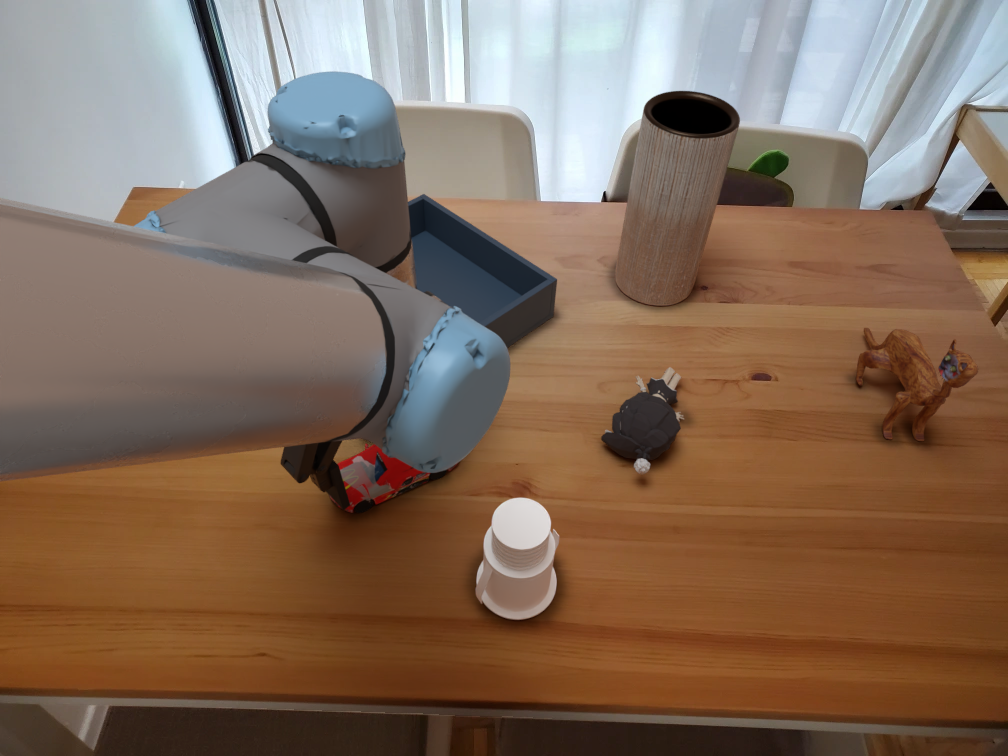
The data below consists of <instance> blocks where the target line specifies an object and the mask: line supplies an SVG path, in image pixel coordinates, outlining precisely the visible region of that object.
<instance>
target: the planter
mask: <svg viewBox="0 0 1008 756" xmlns="http://www.w3.org/2000/svg"><path fill="white" fill-rule="evenodd" d="M641 115H642V116H641V120H640V126H639V132H638V137H637V144H636V149H635V154H634V160H633V166H632V173H631V178H630V184H629V190H628V194H627V201H626V206H625V212H624V217H623V223H622V228H621V229H622V230H621V235H620V239H619V240H620V241H619V245H618V252H617V257H616V264H615V271H614V280H615V283H616V285H617V287H618V288H619V290H620V291H621V292H622V293H623V294H625V296H627V297H628V298H630V299H632V300H634V301H636V302H639V303H642V304H645V305H651V306H671V305H675V304H678V303H681V302H682V301H684V300H685V299H687V298H688V297H689V296H690V295H691V292H692V291H693V288H694V285H695V284H696V283H695V282H696V280H697V276H698V272H699V269H700V266H701V261H702V259H703V255H704V252H705V249H706V244H707V241H708V238H709V234H710V232H711V231H710V230H711V227H712V224H713V220H714V216H715V212H716V209H717V205H718V203H719V199H720V195H721V192H722V188H723V184H724V181H725V177H726V174H727V171H728V167H729V162H730V160H731V156H732V152H733V149H734V146H735V142H736V138H737V136H738V135H737V134H738V132H739V128H740V123H741V117H740V114H739V113H738V111H737V109H736V108H735V107H734V106H733V105H732V104H731V103H729V102H727V101H725V100H724V99H722V98H719V97H717V96H715V95H711V94H709V93H705V92H699V91H692V90H671V91H666V92H662V93H659V94H656V95H654V96H653V97H651V98H649V99H648V100H647V101H646V103H645V104H644V106H643V110H642V114H641Z"/></svg>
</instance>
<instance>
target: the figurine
mask: <svg viewBox="0 0 1008 756" xmlns="http://www.w3.org/2000/svg"><path fill="white" fill-rule="evenodd" d="M634 378H635V380H636V381H635V382H634V383H635V384H636V385H637V386H638V387H639V388H640V389H639V390H640V392H637V393H636V394H635V395H633V396H632V397H630V398H627V399H625V400H624V402H623V403H622V404H621V405H620V406H619V411H617V412H615V413H613V415H612V419H611V422H612V423H611V430H612V431H611V430H608V429H605V430H604V434H602V436H601V437H600V439H601V441H602V442H603V443H604V444H605V445H606V446H607V447H609V448H610V449H611V450H612V451H614V453H616V454H618V455H619V456H620V457H623V458H625V459H631V460H636V461H634V463H633V468H634V469H635V472H636V473H637V474H640V475H645V474H647V473H648V472H649V471H650V470H651V469H650V468H651V463H650V462H649V461H653V460H656V459H658V458H659V457H660V456H661V454H663V453H665V452H667V451H668V450H669V449H670V448H671V445H672V443H674V442H675V440H676V438H677V434H678V433H679V432H680V431H681V429H682V428H681V424H680V421H681V420H683V421H684V420H685V418H684V415H685V414H681V413H682V412H681V411H678V412H676V411H675V410H674V408H673V407H672V405H674V404H677V403H679V400H678V398H677V396H678V391H677V389H676V388H677V386H678V385H679V382H680V381H681V379H682V376H681V375H680V374H679V373H678V372H676V371H675V369H673V368H672V367H671V366H669V367H668V368H666V369H665V371H664V372H663V375H662V376H661V377H660V378H657V379H656V378H653V377H650V379H649V382H647V383H646V387H647V388H646V387H645V384H644V381H643V378H642V377H640V376H639V375H637V376H636V375H635V377H634ZM647 390H648V391H647ZM680 419H681V420H680Z"/></svg>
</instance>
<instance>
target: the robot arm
mask: <svg viewBox="0 0 1008 756" xmlns="http://www.w3.org/2000/svg"><path fill="white" fill-rule="evenodd" d="M267 120H268V124H269V126H268V128H267V132H268V134H269V137H270V141H272V143H271V144H269V145H268V146H267V147H265V148H264V149H262V150H260V151H258V152H256V153H254V154H253V155H251V157H250V158H249V159H248V160H246V161H244V162H242V163H240V164H239V165H237V166H235V167H233V168H231V169H230V170H228V171H226V172H224V173H222V174H220V175H219V176H217V177H215V178H213V179H211V180H210V181H207V182H206V183H204V184H202V185H200V186H199V187H196V188H195V189H193V190H191V191H189V192H187V193H186V194H184V195H182V196H180V197H178V198H177V199H175V200H172V201H171V202H169V203H167V204H166V205H163V206H162V207H160V208H158V209H156V210H155V209H154V210H151V211H149V212H148V213H147V214H146V217H145V218H144V219H142V220H141V221H139V222H137V223H136V224H134V225H129V224H125V223H119V222H116V221H115V222H114V221H109V220H106V219H102V218H96V217H92V216H87V215H82V214H77V213H72V212H68V211H63V210H59V209H53V208H50V207H45V206H39V205H35V204H30V203H25V202H21V201H16V200H13V199H7V198H4V197H0V482H8V481H17V480H24V479H33V478H40V477H49V476H50V477H51V476H57V475H66V474H74V473H75V474H76V473H81V472H91V471H97V470H98V471H99V470H106V469H114V468H123V467H131V466H140V465H147V464H154V463H156V464H157V463H163V462H164V463H165V462H172V461H173V462H174V461H180V460H181V461H182V460H187V459H197V458H207V457H213V456H220V455H229V454H238V453H246V452H253V451H261V450H270V449H278V448H282V449H283V450H282V454H281V458H280V462H279V463H280V465H281V467H282V468H283V469H284V470H285V471H286V472H287V473H288V474H289V475H290V476H291V478H293V479H294V481H295V482H296V483H298V484H303V483H305V482H307V480H308V479H309V478H310V480H311V482H312V483H313V484H314V485H315V486H316V487H317V488H318V490H320V492H322V493H326V494H327V495H328V497H329V496H330V497H331V498H332V499H333V500H334V501H335V502H336V503H337V504H338V505H339V506H340V507H341V508H342V509H341V508H340V509H341V510H343V511H345V509H346V508H347V507H349V506H350V502H349V499H348V496H347V492H346V489H345V485H344V482H343V479H342V475H341V472H340V469H339V465H338V463H337V462H336V461H335V460H334V459H335V456H336V454H337V453H338V451H339V449H340V447H341V445H342V443H343V441H349V440H358V439H359V440H365V441H368V442H369V443H372V444H373V445H374V444H375V445H376V446H378V447H379V448H380V449H382V452H383V453H384V454H386V455H387V456H388V457H390V458H397V459H399V460H400V461H402V462H404V463H406V464H408V465H410V466H411V467H413V468H415V469H417V470H419V471H422V472H426V473H437V472H440V471H444V470H446V469H447V470H448V468H450V467H452V466H454V465H455V464H457V463H459V462H461V461H462V460H464V459H465V458H466V457H467V456H468V455H470V453H471V452H472V451H473V450H474V449H475V448H476V447H477V445H478V444H479V443H480V442H481V440H482V439H483V438H484V437H485V435H486V434H487V433H488V431H489V430H490V428H491V426H492V424H493V423H494V421H495V418H496V417H497V415H498V414H499V411H500V409H501V406H502V404H503V402H504V398H505V396H506V393H507V391H508V389H509V388H508V387H509V383H510V378H511V356H510V352H509V349H508V348H507V347H506V345H505V343H504V342H503V340H502V339H501V338H500V337H499V336H498V335H497V334H496V333H494V332H492V331H491V330H489V329H487V328H486V327H484V326H483V325H481V324H479V323H478V322H476V321H475V320H473V319H472V318H470V317H468V316H467V315H465V314H464V313H463V311H462V309H460V308H458V307H456V306H454V308H452V307H450V306H448V305H447V304H446V303H444V302H443V301H442V300H440V299H439V298H438V297H436V296H435V295H434V294H432V293H431V292H430V291H426V292H424V293H423V292H421V291H419V290H418V289H417V286H416V283H417V281H416V272H415V263H414V254H413V245H412V239H411V230H410V219H409V208H408V202H409V199H408V198H409V197H408V188H407V186H408V185H407V176H406V164H405V160H406V150H405V147H404V144H403V139H402V138H403V137H402V134H401V127H400V123H399V118H398V113H397V110H396V105H395V102H394V100H393V98H392V96H391V95H390V93H389V91H388V90H387V89H386V88H384V86H383V85H381V84H380V83H379V82H377V81H375V80H373V79H370V78H367V77H363V76H362V75H361V74H358V73H353V72H346V71H334V70H333V71H319V72H313V73H309V74H305V75H301V76H299V77H296V78H294V79H292V80H290V81H288V82H286V83H285V84H282V86H280V87H279V88H278V89H277V92H276V94H275V96H273V97H272V98H271V99H270V101H269V102H268V105H267ZM457 465H458V464H457ZM330 497H329V498H330Z"/></svg>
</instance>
